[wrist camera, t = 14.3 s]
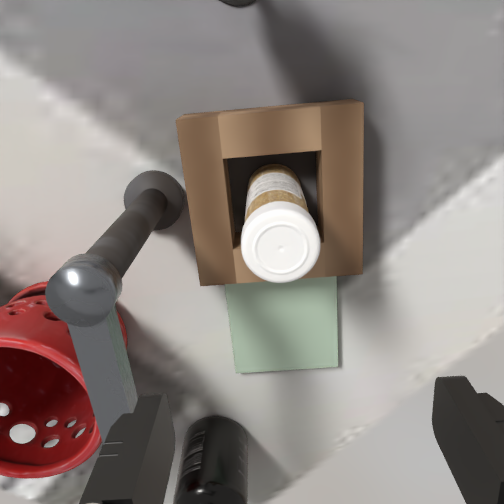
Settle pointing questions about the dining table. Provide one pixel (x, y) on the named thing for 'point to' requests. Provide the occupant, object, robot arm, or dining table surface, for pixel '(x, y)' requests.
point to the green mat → (283, 324)
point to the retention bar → (95, 333)
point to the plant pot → (42, 389)
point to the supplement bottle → (213, 464)
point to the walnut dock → (219, 192)
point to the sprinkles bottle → (278, 226)
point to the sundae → (237, 2)
